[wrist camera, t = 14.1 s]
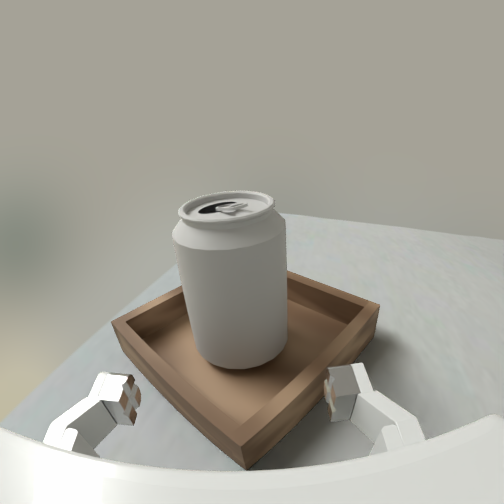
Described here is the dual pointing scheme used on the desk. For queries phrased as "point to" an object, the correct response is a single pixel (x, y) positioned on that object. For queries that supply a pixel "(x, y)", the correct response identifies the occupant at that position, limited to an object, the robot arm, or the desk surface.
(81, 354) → the desk surface
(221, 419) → the tray
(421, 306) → the desk surface
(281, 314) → the can
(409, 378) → the desk surface
